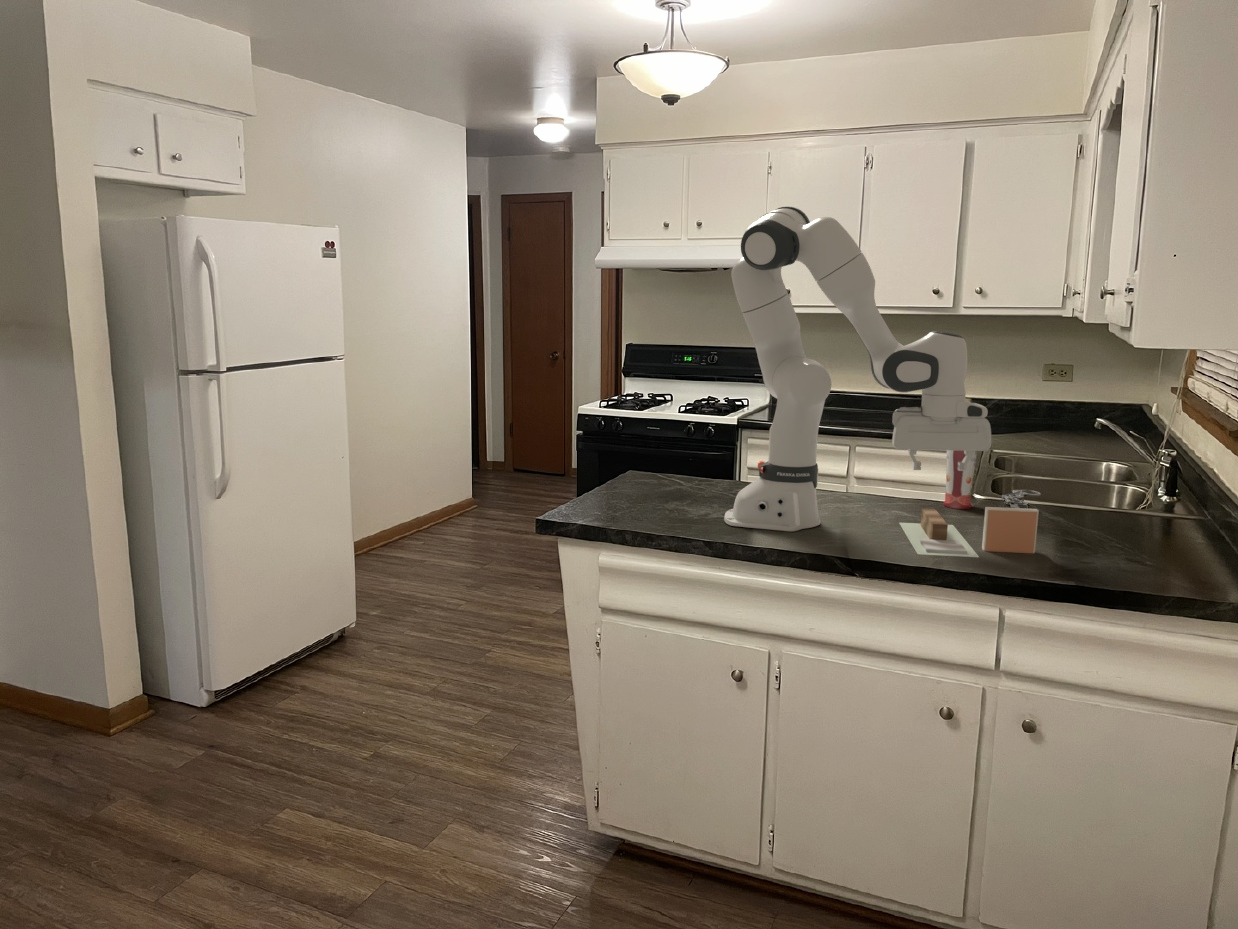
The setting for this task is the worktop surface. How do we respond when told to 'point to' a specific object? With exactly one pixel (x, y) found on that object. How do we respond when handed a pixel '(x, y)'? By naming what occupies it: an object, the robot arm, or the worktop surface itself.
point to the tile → (1010, 529)
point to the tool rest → (917, 533)
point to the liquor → (959, 480)
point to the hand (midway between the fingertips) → (939, 470)
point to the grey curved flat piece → (1018, 498)
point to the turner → (938, 534)
